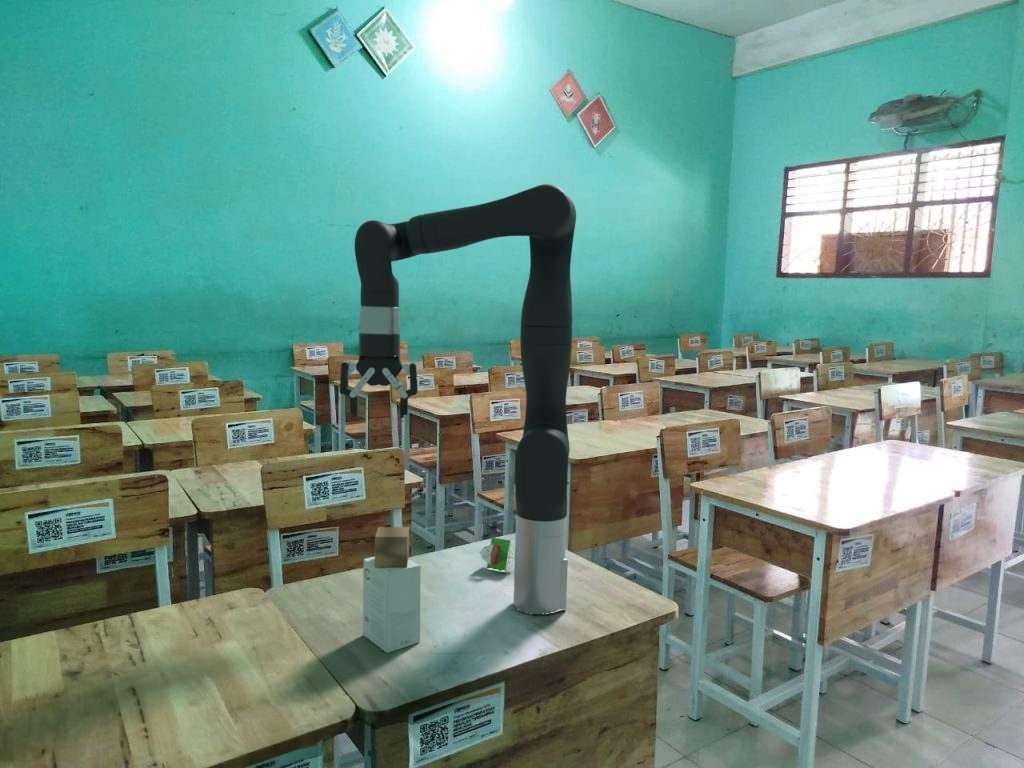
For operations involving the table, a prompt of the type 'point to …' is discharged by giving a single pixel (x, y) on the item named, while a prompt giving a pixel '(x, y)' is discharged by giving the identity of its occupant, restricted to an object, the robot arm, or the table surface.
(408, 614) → the small box
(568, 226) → the robot arm
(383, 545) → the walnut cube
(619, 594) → the table surface
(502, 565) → the geometric puzzle
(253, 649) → the table surface
